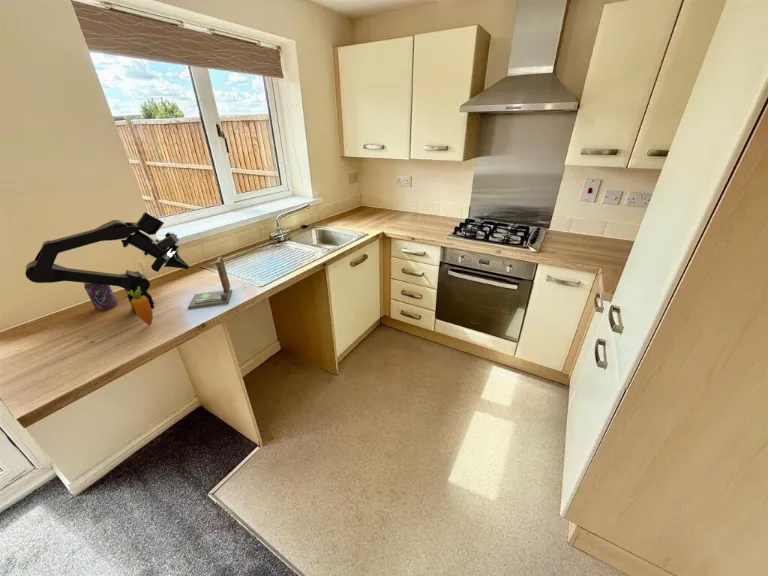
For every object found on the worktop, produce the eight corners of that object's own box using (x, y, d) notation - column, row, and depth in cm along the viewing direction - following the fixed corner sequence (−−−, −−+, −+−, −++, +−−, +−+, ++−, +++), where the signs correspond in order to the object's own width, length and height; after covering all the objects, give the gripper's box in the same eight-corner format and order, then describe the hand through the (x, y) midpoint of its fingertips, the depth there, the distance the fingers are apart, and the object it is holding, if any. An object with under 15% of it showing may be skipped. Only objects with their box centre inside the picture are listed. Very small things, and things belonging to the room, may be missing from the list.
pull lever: (194, 303, 126) (183, 271, 119) (200, 290, 135) (190, 260, 129) (227, 298, 128) (218, 267, 122) (231, 286, 138) (223, 256, 131)
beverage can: (92, 312, 124) (77, 285, 118) (101, 303, 130) (88, 277, 124) (113, 309, 125) (100, 282, 120) (121, 301, 131) (109, 274, 126)
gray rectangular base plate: (188, 308, 125) (187, 306, 124) (195, 296, 134) (194, 293, 133) (228, 303, 128) (227, 300, 127) (232, 291, 137) (231, 289, 136)
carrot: (141, 330, 112) (124, 293, 105) (142, 323, 116) (126, 287, 109) (157, 326, 114) (141, 289, 107) (158, 319, 118) (143, 283, 111)
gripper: (149, 236, 110) (194, 261, 118) (167, 221, 126) (205, 245, 134) (132, 259, 112) (177, 283, 119) (151, 242, 128) (190, 264, 135)
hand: (188, 267), depth 127 cm, fingers closed
